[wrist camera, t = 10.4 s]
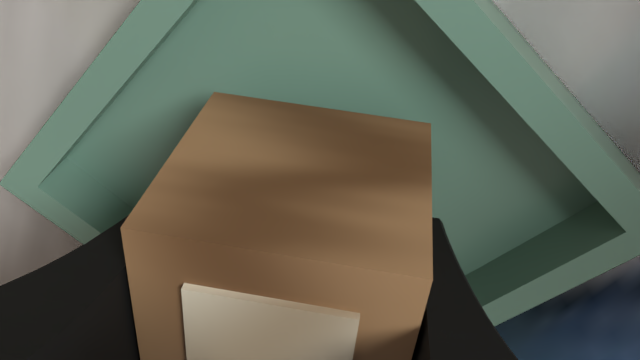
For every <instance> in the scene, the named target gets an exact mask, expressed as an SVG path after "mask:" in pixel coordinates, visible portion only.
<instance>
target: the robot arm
mask: <svg viewBox="0 0 640 360" xmlns="http://www.w3.org/2000/svg"><path fill="white" fill-rule="evenodd" d="M129 215H130V214H129ZM129 215H128V216H129ZM128 216H126V217H125V218H123V219H122V220H121V221H119V222H118V223H116V224H115V225H113V226H112V227H110V228H109V229H107V230H106V231H104V232H103V233H101V234H99V235H98V236H96V237H95V238H93V239H92V240H90V241H89V242H87V243H85V244H84V245H82V246H80V247H79V248H77V249H75V250H74V251H72V252H70V253H68V254H66V255H65V256H63V257H61V258H59V259H57V260H55V261H53V262H51V263H49V264H47V265H46V266H44V267H42V268H39V269H37V270H35V271H33V272H31V273H29V274H26V275H24V276H22V277H20V278H17V279H15V280H13V281H11V282H8V283H6V284H4V285H2V286H0V360H140V354H139V348H138V341H137V335H136V328H135V321H134V315H133V308H132V302H131V295H130V288H129V282H128V275H127V269H126V262H125V255H124V249H123V242H122V236H121V229H120V228H121V226H122V225H123V223H124V222H125V220H126V219H127V217H128ZM432 240H433V282H432V285H431V289H430V293H429V296H428V300H427V304H426V307H425V311H424V315H423V319H422V322H421V326H420V330H419V333H418V337H417V341H416V344H415V348H414V352H413V355H412V359H411V360H518V359H517V358H516V356H515V355H514V354H513V352H512V351H511V350H510V348H509V347H508V346H507V344H506V343H505V341H504V340H503V339H502V337H501V336H500V334H499V333H498V331H497V330H496V328H495V327H494V325H493V324H492V322H491V321H490V319H489V318H488V316H487V314H486V313H485V311H484V309H483V308H482V306H481V304H480V303H479V301H478V299H477V297H476V296H475V294H474V292H473V290H472V288H471V286H470V284H469V282H468V280H467V279H466V277H465V275H464V273H463V271H462V269H461V267H460V264H459V262H458V260H457V258H456V256H455V253H454V251H453V249H452V247H451V244H450V242H449V239H448V237H447V234H446V231H445V228H444V225H443V223H442V221H441V220H440V219H439V218H434V217H432Z"/></svg>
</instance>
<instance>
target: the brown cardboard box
mask: <svg viewBox="0 0 640 360" xmlns="http://www.w3.org/2000/svg"><path fill="white" fill-rule="evenodd" d="M120 229H121V236H122V242H123V249H124V255H125V262H126V269H127V275H128V282H129V288H130V295H131V302H132V308H133V315H134V321H135V328H136V335H137V341H138V348H139V354H140V360H411V359H412V355H413V352H414V348H415V344H416V341H417V337H418V333H419V330H420V326H421V322H422V319H423V315H424V311H425V307H426V304H427V300H428V296H429V293H430V289H431V285H432V282H433V240H432V158H431V123H425V122H418V121H411V120H405V119H398V118H391V117H384V116H377V115H370V114H363V113H357V112H350V111H343V110H336V109H329V108H322V107H315V106H308V105H302V104H295V103H288V102H281V101H274V100H267V99H260V98H253V97H247V96H240V95H233V94H226V93H219V92H213V94H212V95H211V97H210V98H209V100H208V101H207V103H206V104H205V106H204V107H203V108H202V110H201V111H200V113H199V114H198V116H197V117H196V119H195V120H194V122H193V123H192V124H191V126H190V127H189V129H188V130H187V132H186V133H185V135H184V136H183V137H182V139H181V140H180V142H179V143H178V145H177V146H176V148H175V149H174V151H173V152H172V153H171V155H170V156H169V158H168V159H167V161H166V162H165V164H164V165H163V167H162V168H161V169H160V171H159V172H158V174H157V175H156V177H155V178H154V180H153V181H152V183H151V184H150V185H149V187H148V188H147V190H146V191H145V193H144V194H143V196H142V197H141V199H140V200H139V201H138V203H137V204H136V206H135V207H134V209H133V210H132V212H131V213H130V215H129V216H128V217H127V219H126V220H125V222H124V223H123V225H122V226H121V228H120Z"/></svg>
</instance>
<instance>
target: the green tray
mask: <svg viewBox="0 0 640 360" xmlns="http://www.w3.org/2000/svg"><path fill="white" fill-rule="evenodd" d="M213 92H219V93H226V94H233V95H240V96H247V97H253V98H260V99H267V100H274V101H281V102H288V103H295V104H302V105H308V106H315V107H322V108H329V109H336V110H343V111H350V112H357V113H363V114H370V115H377V116H384V117H391V118H398V119H405V120H411V121H418V122H425V123H431V158H432V217H434V218H439V219H440V220H441V221H442V223H443V225H444V228H445V231H446V234H447V237H448V239H449V242H450V244H451V247H452V249H453V251H454V253H455V256H456V258H457V260H458V262H459V264H460V267H461V269H462V271H463V273H464V275H465V277H466V279H467V280H468V282H469V284H470V286H471V288H472V290H473V292H474V294H475V296H476V297H477V299H478V301H479V303H480V304H481V306H482V308H483V309H484V311H485V313H486V314H487V316H488V318H489V319H490V321H491V322H492V324H493V325H494V326H496V325H498V324H500V323H502V322H504V321H506V320H509V319H511V318H513V317H515V316H517V315H519V314H521V313H523V312H525V311H527V310H529V309H531V308H533V307H535V306H537V305H539V304H541V303H543V302H545V301H547V300H549V299H551V298H553V297H555V296H557V295H559V294H562V293H564V292H566V291H568V290H570V289H572V288H574V287H576V286H578V285H580V284H582V283H584V282H586V281H588V280H590V279H592V278H594V277H596V276H598V275H600V274H602V273H604V272H606V271H608V270H610V269H612V268H615V267H617V266H619V265H621V264H623V263H625V262H627V261H629V260H631V259H633V258H635V257H637V256H639V255H640V173H639V172H638V171H637V170H636V168H635V167H634V166H633V165H632V164H631V163H630V161H629V160H628V159H627V158H626V157H625V156H624V154H623V153H622V152H621V151H620V150H619V149H618V147H617V146H616V145H615V144H614V143H613V142H612V140H611V139H610V138H609V137H608V136H607V135H606V133H605V132H604V131H603V130H602V129H601V128H600V126H599V125H598V124H597V123H596V122H595V121H594V119H593V118H592V117H591V116H590V115H589V114H588V112H587V111H586V110H585V109H584V108H583V107H582V105H581V104H580V103H579V102H578V101H577V100H576V98H575V97H574V96H573V95H572V94H571V93H570V91H569V90H568V89H567V88H566V87H565V86H564V84H563V83H562V82H561V81H560V80H559V79H558V77H557V76H556V75H555V74H554V73H553V72H552V70H551V69H550V68H549V67H548V66H547V65H546V63H545V62H544V61H543V60H542V59H541V58H540V56H539V55H538V54H537V53H536V52H535V51H534V49H533V48H532V47H531V46H530V45H529V44H528V42H527V41H526V40H525V39H524V38H523V37H522V35H521V34H520V33H519V32H518V31H517V30H516V28H515V27H514V26H513V25H512V24H511V23H510V21H509V20H508V19H507V18H506V17H505V16H504V14H503V13H502V12H501V11H500V10H499V9H498V7H497V6H496V5H495V4H494V3H493V2H492V0H141V1H140V2H139V3H138V5H137V6H136V7H135V8H134V10H133V11H132V12H131V14H130V15H129V16H128V18H127V19H126V20H125V21H124V23H123V24H122V25H121V27H120V28H119V29H118V30H117V32H116V33H115V34H114V36H113V37H112V38H111V39H110V41H109V42H108V43H107V45H106V46H105V47H104V49H103V50H102V51H101V52H100V54H99V55H98V56H97V58H96V59H95V60H94V61H93V63H92V64H91V65H90V67H89V68H88V69H87V71H86V72H85V73H84V74H83V76H82V77H81V78H80V80H79V81H78V82H77V83H76V85H75V86H74V87H73V89H72V90H71V91H70V92H69V94H68V95H67V96H66V98H65V99H64V100H63V102H62V103H61V104H60V105H59V107H58V108H57V109H56V111H55V112H54V113H53V114H52V116H51V117H50V118H49V120H48V121H47V122H46V124H45V125H44V126H43V127H42V129H41V130H40V131H39V133H38V134H37V135H36V136H35V138H34V139H33V140H32V142H31V143H30V144H29V145H28V147H27V148H26V149H25V151H24V152H23V153H22V155H21V156H20V157H19V158H18V160H17V161H16V162H15V164H14V165H13V166H12V167H11V169H10V170H9V171H8V173H7V174H6V175H5V177H4V178H3V179H2V180H1V182H0V185H1V186H2V187H4V188H5V189H6V190H8V191H9V192H11V193H12V194H13V195H15V196H16V197H18V198H19V199H20V200H22V201H23V202H25V203H26V204H27V205H29V206H30V207H32V208H33V209H34V210H36V211H37V212H39V213H40V214H41V215H43V216H44V217H46V218H47V219H48V220H50V221H51V222H53V223H54V224H55V225H57V226H58V227H60V228H61V229H62V230H64V231H65V232H67V233H68V234H69V235H71V236H72V237H74V238H75V239H76V240H78V241H79V242H81V243H82V244H83V245H84V244H85V243H87V242H89V241H90V240H92V239H93V238H95V237H96V236H98V235H99V234H101V233H103V232H104V231H106V230H107V229H109V228H110V227H112V226H113V225H115V224H116V223H118V222H119V221H121V220H122V219H123V218H125V217H126V216H128V215H129V214H130V213H131V212H132V210H133V209H134V207H135V206H136V204H137V203H138V201H139V200H140V199H141V197H142V196H143V194H144V193H145V191H146V190H147V188H148V187H149V185H150V184H151V183H152V181H153V180H154V178H155V177H156V175H157V174H158V172H159V171H160V169H161V168H162V167H163V165H164V164H165V162H166V161H167V159H168V158H169V156H170V155H171V153H172V152H173V151H174V149H175V148H176V146H177V145H178V143H179V142H180V140H181V139H182V137H183V136H184V135H185V133H186V132H187V130H188V129H189V127H190V126H191V124H192V123H193V122H194V120H195V119H196V117H197V116H198V114H199V113H200V111H201V110H202V108H203V107H204V106H205V104H206V103H207V101H208V100H209V98H210V97H211V95H212V94H213Z"/></svg>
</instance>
